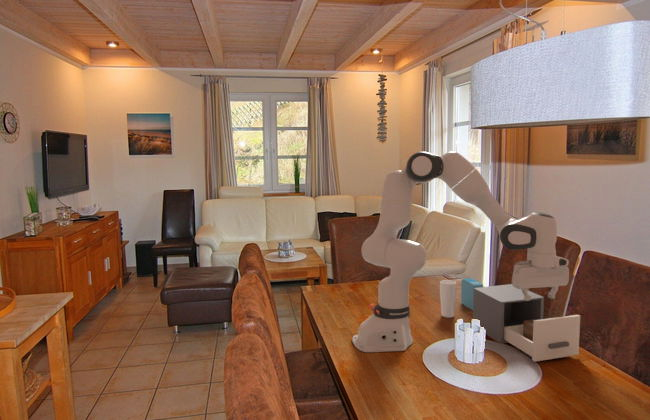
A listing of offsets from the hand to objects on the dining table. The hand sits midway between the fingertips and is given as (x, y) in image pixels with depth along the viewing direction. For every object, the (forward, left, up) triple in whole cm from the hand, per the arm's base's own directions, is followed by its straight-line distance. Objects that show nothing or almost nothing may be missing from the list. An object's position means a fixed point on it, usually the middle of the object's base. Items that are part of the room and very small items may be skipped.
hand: (539, 299), depth 157 cm
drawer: (+1, 0, -18) cm, 18 cm away
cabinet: (+1, +18, -19) cm, 26 cm away
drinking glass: (-12, +40, -19) cm, 46 cm away
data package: (+4, +47, -19) cm, 51 cm away
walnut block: (+1, +1, -17) cm, 17 cm away
